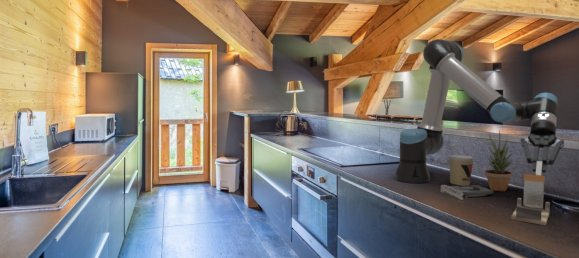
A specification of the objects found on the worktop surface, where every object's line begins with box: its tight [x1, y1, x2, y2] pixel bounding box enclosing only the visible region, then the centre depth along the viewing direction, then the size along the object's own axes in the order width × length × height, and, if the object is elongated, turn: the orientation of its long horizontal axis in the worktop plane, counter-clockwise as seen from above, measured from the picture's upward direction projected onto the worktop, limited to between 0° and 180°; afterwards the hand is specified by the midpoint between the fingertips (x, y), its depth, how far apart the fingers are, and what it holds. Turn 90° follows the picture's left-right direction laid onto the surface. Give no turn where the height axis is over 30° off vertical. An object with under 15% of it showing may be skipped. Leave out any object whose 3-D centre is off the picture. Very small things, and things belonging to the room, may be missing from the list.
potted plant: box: [484, 129, 513, 192], centre depth 139 cm, size 10×10×25 cm
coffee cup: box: [449, 154, 474, 186], centre depth 150 cm, size 9×9×12 cm
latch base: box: [510, 197, 551, 226], centre depth 106 cm, size 14×8×4 cm, turn 139°
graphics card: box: [440, 184, 494, 201], centre depth 132 cm, size 17×4×12 cm
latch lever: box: [522, 173, 546, 210], centre depth 110 cm, size 2×5×11 cm, turn 49°
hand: (538, 178), depth 115 cm, fingers closed
